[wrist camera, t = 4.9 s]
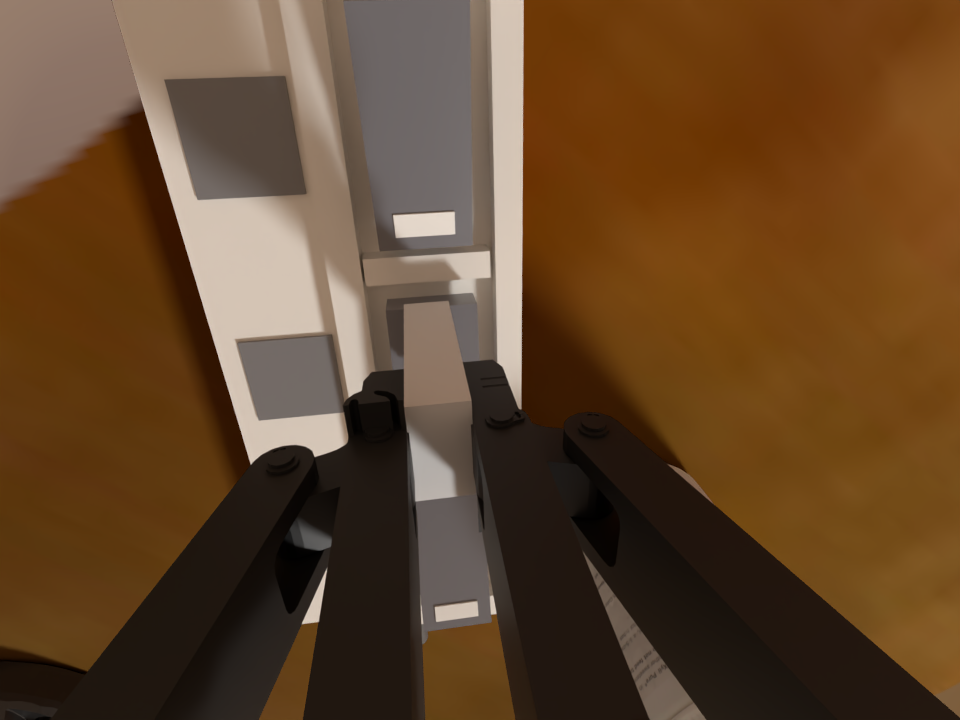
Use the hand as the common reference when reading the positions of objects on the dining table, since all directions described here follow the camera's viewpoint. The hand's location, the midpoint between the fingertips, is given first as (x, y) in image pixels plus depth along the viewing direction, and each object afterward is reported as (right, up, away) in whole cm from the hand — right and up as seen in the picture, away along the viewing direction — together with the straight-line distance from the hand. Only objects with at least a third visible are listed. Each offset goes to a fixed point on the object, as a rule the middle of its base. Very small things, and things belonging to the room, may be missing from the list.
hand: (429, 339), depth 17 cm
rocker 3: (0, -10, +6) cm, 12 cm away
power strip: (-3, -2, +9) cm, 9 cm away
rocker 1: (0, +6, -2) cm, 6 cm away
